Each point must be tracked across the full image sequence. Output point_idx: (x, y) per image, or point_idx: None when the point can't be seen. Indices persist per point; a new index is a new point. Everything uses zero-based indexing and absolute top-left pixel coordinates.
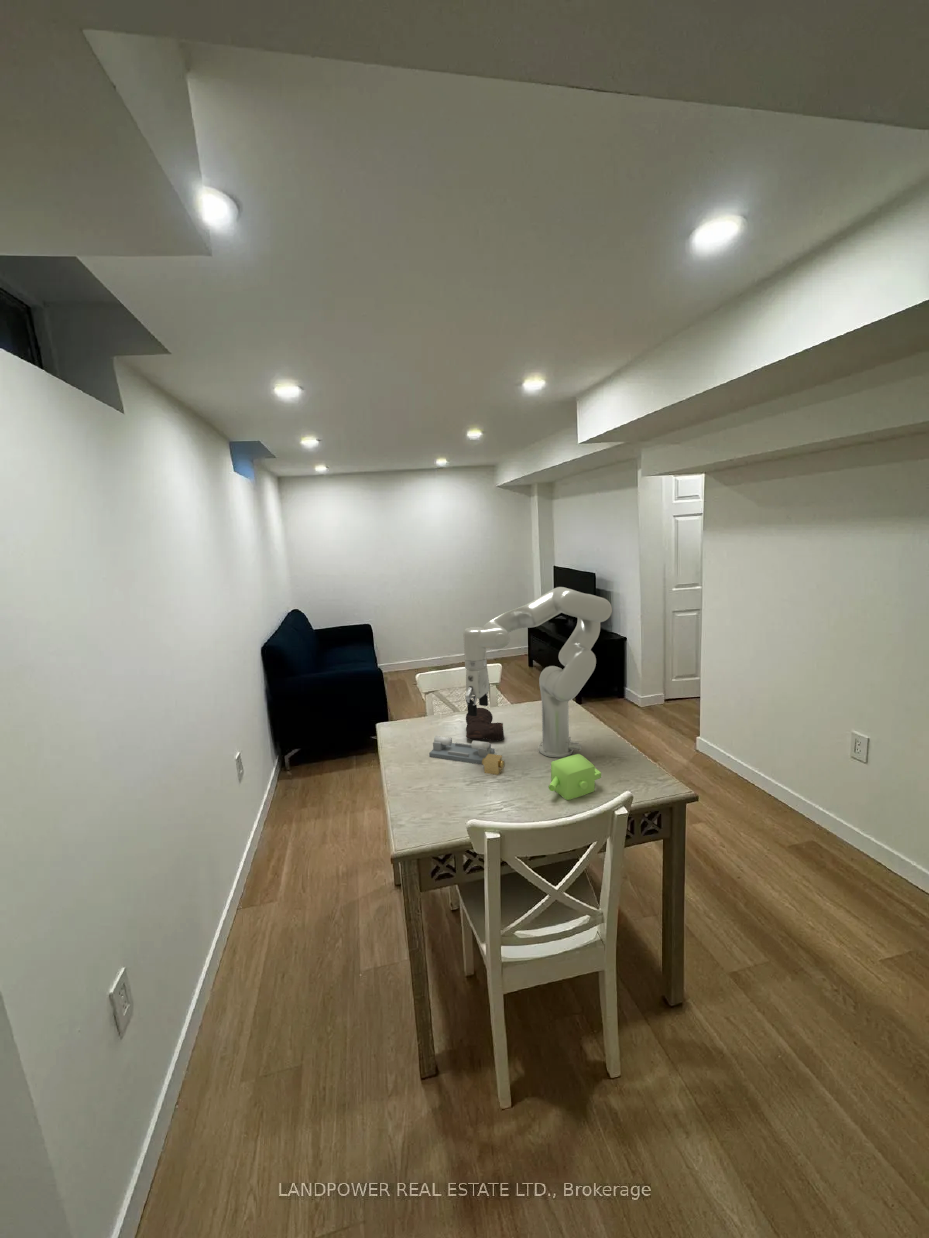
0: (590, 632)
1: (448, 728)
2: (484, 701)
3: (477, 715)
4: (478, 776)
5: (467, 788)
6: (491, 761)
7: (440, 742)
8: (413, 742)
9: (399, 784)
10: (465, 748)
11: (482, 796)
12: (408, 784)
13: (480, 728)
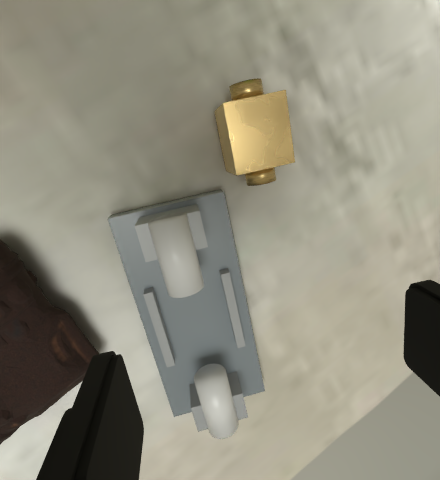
0: None
1: None
2: (117, 421)
3: None
4: (306, 165)
5: (389, 153)
6: (288, 124)
7: (234, 398)
8: (205, 474)
9: None
10: (174, 316)
11: (417, 75)
12: None
13: (30, 353)
